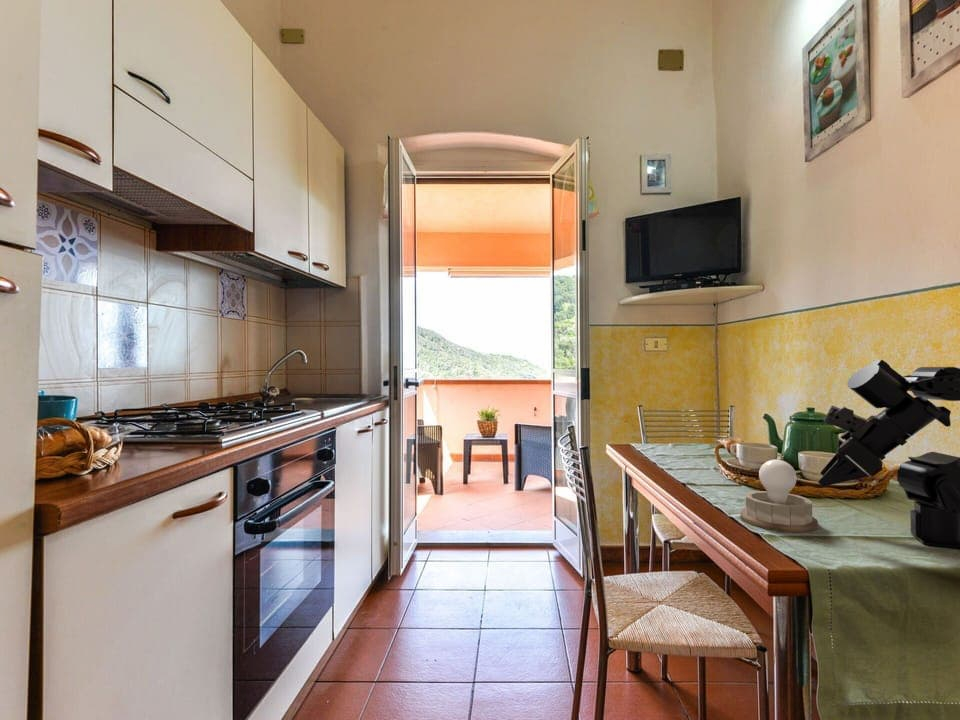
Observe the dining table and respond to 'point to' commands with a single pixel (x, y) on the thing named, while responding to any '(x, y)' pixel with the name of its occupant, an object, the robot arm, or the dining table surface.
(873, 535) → the dining table surface
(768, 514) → the holder
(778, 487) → the lightbulb
